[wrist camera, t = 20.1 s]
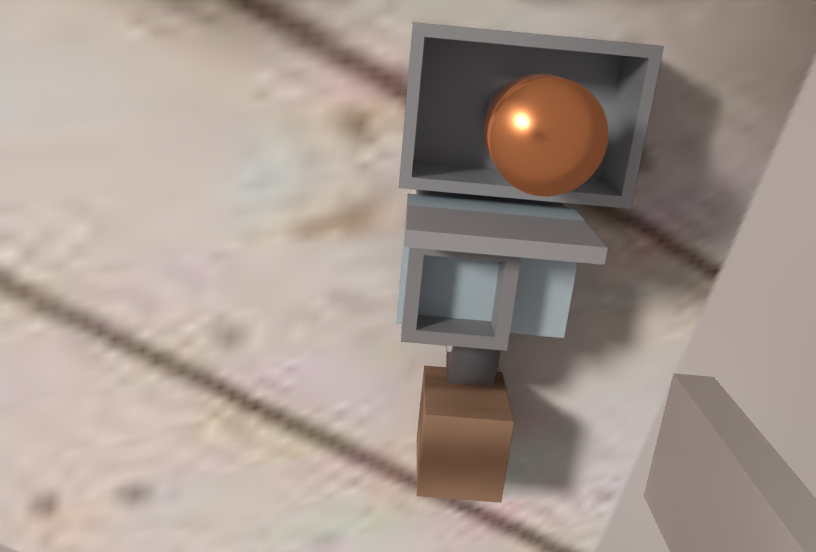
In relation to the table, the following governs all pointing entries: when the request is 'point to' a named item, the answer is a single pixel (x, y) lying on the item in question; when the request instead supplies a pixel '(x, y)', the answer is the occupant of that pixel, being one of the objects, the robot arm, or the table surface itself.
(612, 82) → the bin
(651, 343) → the table surface
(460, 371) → the grey bracket
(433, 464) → the block
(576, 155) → the pin
